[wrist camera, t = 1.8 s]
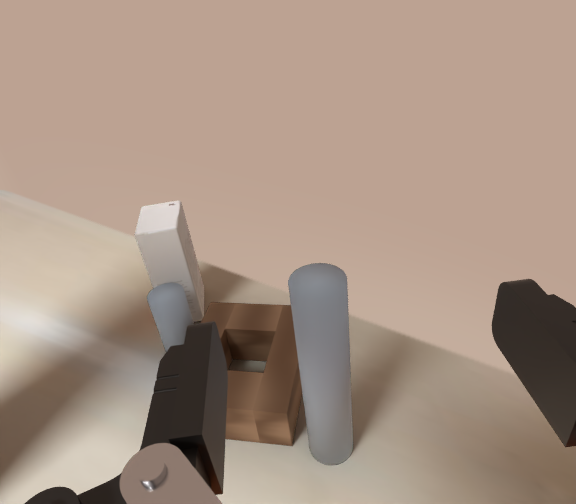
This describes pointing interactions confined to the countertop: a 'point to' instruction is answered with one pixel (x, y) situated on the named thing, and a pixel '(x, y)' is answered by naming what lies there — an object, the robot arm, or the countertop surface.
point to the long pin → (324, 358)
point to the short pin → (170, 313)
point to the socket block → (253, 385)
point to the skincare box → (170, 252)
